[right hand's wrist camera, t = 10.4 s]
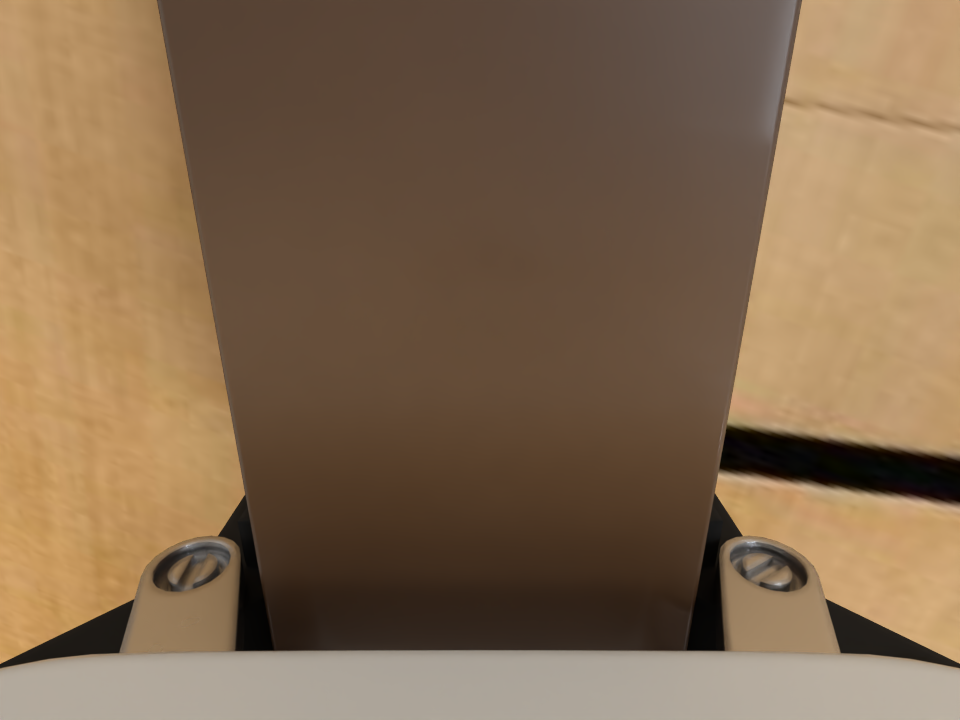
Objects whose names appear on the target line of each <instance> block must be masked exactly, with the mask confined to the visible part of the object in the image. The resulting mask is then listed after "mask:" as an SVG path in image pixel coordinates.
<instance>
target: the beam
mask: <svg viewBox="0 0 960 720" xmlns="http://www.w3.org/2000/svg"><path fill="white" fill-rule="evenodd" d="M157 2H158V8H159V13H160V19H161V25H162V30H163V36H164V41H165V47H166V53H167V58H168V64H169V69H170V75H171V81H172V86H173V92H174V97H175V103H176V108H177V114H178V120H179V125H180V131H181V136H182V142H183V148H184V153H185V159H186V164H187V170H188V176H189V181H190V187H191V192H192V198H193V204H194V209H195V215H196V220H197V226H198V232H199V237H200V243H201V248H202V254H203V260H204V265H205V271H206V276H207V282H208V288H209V293H210V299H211V304H212V310H213V316H214V321H215V327H216V332H217V338H218V344H219V349H220V355H221V360H222V366H223V372H224V377H225V383H226V388H227V394H228V400H229V405H230V411H231V416H232V422H233V428H234V433H235V439H236V444H237V450H238V456H239V461H240V467H241V472H242V478H243V484H244V489H245V495H246V500H247V506H248V512H249V517H250V523H251V528H252V534H253V540H254V545H255V551H256V556H257V562H258V568H259V573H260V579H261V584H262V590H263V596H264V601H265V607H266V612H267V618H268V624H269V629H270V635H271V640H272V646H273V651H414V650H596V651H687V645H688V640H689V634H690V629H691V623H692V617H693V612H694V606H695V600H696V595H697V589H698V583H699V578H700V572H701V566H702V561H703V555H704V550H705V544H706V538H707V533H708V527H709V521H710V516H711V510H712V504H713V499H714V493H715V488H716V482H717V476H718V471H719V465H720V459H721V454H722V448H723V442H724V437H725V431H726V426H727V420H728V414H729V409H730V403H731V397H732V392H733V386H734V380H735V375H736V369H737V364H738V358H739V352H740V347H741V341H742V335H743V330H744V324H745V318H746V313H747V307H748V302H749V296H750V290H751V285H752V279H753V273H754V268H755V262H756V256H757V251H758V245H759V239H760V234H761V228H762V223H763V217H764V211H765V206H766V200H767V194H768V189H769V183H770V177H771V172H772V166H773V161H774V155H775V149H776V144H777V138H778V132H779V127H780V121H781V115H782V110H783V104H784V99H785V93H786V87H787V82H788V76H789V70H790V65H791V59H792V53H793V48H794V42H795V37H796V31H797V25H798V20H799V14H800V8H801V3H802V0H157Z"/></svg>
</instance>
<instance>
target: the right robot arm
mask: <svg viewBox="0 0 960 720" xmlns="http://www.w3.org/2000/svg"><path fill="white" fill-rule="evenodd" d="M0 720H960V664H959V663H957V662H955V661H953V660H951V659H949V658H947V657H945V656H943V655H940V654H938V653H936V652H934V651H932V650H930V649H928V648H926V647H924V646H922V645H920V644H918V643H916V642H914V641H912V640H910V639H907V638H905V637H903V636H901V635H899V634H897V633H895V632H893V631H891V630H889V629H887V628H885V627H883V626H881V625H879V624H877V623H874V622H872V621H870V620H868V619H866V618H864V617H862V616H860V615H858V614H856V613H854V612H852V611H850V610H848V609H846V608H844V607H841V606H839V605H837V604H835V603H833V602H831V601H829V600H827V599H825V596H824V593H823V589H822V586H821V582H820V579H819V576H818V574H817V572H816V570H815V568H814V566H813V565H812V564H811V563H810V562H809V561H808V560H807V559H806V558H805V557H804V556H803V555H801V554H800V553H798V552H797V551H795V550H794V549H792V548H791V547H788V546H786V545H784V544H782V543H780V542H777V541H774V540H770V539H767V538H763V537H755V536H742V534H741V533H740V531H739V530H738V528H737V526H736V525H735V523H734V522H733V520H732V519H731V517H730V516H729V514H728V513H727V511H726V510H725V508H724V507H723V505H722V504H721V502H720V500H719V499H718V497H717V496H716V494H715V493H714V499H713V504H712V510H711V516H710V521H709V527H708V533H707V538H706V544H705V550H704V555H703V561H702V566H701V572H700V578H699V583H698V589H697V595H696V600H695V606H694V612H693V617H692V623H691V629H690V634H689V640H688V645H687V651H596V650H414V651H273V646H272V640H271V635H270V629H269V624H268V618H267V612H266V607H265V601H264V596H263V590H262V584H261V579H260V573H259V568H258V562H257V556H256V551H255V545H254V540H253V534H252V528H251V523H250V517H249V512H248V506H247V500H246V495H245V496H244V497H243V499H242V500H241V502H240V503H239V505H238V506H237V508H236V509H235V511H234V513H233V514H232V516H231V517H230V519H229V520H228V522H227V523H226V525H225V526H224V528H223V529H222V531H221V532H220V534H219V535H218V536H205V537H197V538H193V539H190V540H186V541H183V542H180V543H178V544H176V545H174V546H172V547H169V548H168V549H166V550H165V551H163V552H162V553H160V554H159V555H157V556H156V557H155V558H154V559H153V560H152V561H151V562H150V563H149V564H148V565H147V566H146V568H145V570H144V572H143V574H142V576H141V579H140V582H139V586H138V589H137V593H136V596H135V599H134V600H132V601H130V602H127V603H125V604H123V605H121V606H119V607H117V608H115V609H113V610H111V611H109V612H107V613H105V614H103V615H101V616H99V617H96V618H94V619H92V620H90V621H88V622H86V623H84V624H82V625H80V626H78V627H76V628H74V629H72V630H70V631H68V632H65V633H63V634H61V635H59V636H57V637H55V638H53V639H51V640H49V641H47V642H45V643H43V644H41V645H39V646H37V647H34V648H32V649H30V650H28V651H26V652H24V653H22V654H20V655H18V656H16V657H14V658H12V659H10V660H8V661H6V662H3V663H1V664H0Z"/></svg>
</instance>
